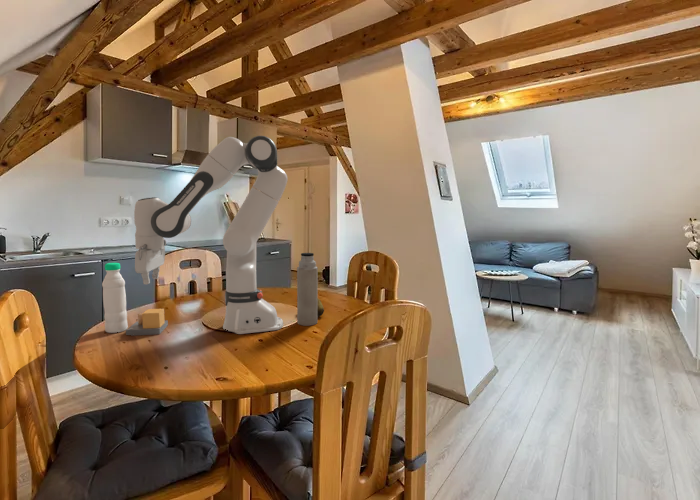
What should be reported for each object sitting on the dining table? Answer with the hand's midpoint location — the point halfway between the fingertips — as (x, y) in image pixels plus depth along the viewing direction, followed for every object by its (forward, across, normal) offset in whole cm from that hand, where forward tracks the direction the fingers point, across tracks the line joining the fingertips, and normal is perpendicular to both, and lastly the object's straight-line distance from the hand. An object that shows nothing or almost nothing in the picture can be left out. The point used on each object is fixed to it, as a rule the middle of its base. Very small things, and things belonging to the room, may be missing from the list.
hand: (151, 281), depth 135 cm
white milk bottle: (+19, +2, +13) cm, 23 cm away
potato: (+18, +13, -60) cm, 64 cm away
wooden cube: (+17, 0, 0) cm, 17 cm away
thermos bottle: (+18, +2, -56) cm, 59 cm away
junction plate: (+19, +1, +2) cm, 19 cm away
